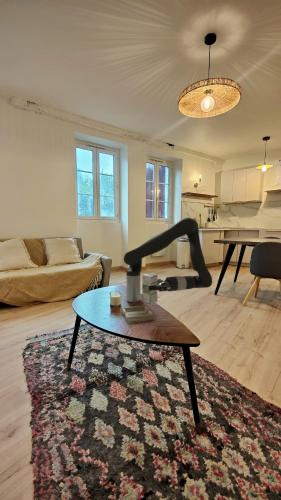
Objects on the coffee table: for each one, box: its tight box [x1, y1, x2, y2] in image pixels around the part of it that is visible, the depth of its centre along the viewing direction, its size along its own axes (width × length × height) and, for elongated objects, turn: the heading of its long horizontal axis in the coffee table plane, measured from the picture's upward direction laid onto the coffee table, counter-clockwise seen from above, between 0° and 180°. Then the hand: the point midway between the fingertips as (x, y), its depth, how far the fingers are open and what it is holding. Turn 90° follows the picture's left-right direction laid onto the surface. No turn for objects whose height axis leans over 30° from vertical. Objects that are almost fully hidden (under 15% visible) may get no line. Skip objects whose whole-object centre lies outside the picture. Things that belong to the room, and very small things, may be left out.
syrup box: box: [141, 272, 158, 305], centre depth 111 cm, size 6×6×14 cm
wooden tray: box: [121, 304, 154, 324], centre depth 121 cm, size 14×14×3 cm
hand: (146, 286), depth 111 cm, fingers closed on syrup box, 8 cm apart
